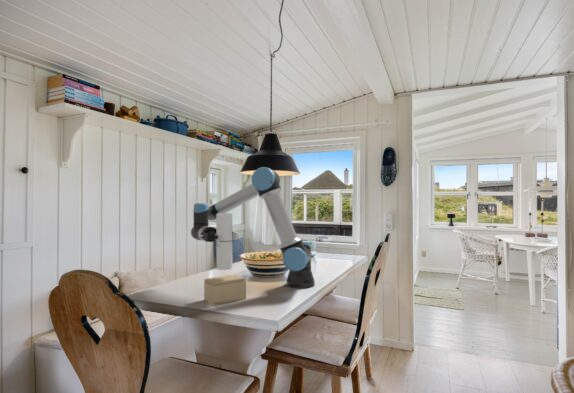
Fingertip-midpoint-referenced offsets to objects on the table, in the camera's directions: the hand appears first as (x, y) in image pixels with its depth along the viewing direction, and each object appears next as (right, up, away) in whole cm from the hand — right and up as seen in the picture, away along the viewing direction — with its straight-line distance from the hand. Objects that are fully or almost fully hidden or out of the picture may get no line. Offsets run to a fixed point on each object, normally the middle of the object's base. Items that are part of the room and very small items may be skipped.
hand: (229, 237), depth 146 cm
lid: (-3, -20, +3) cm, 21 cm away
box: (-3, -28, +3) cm, 29 cm away
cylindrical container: (-3, -15, +4) cm, 16 cm away
